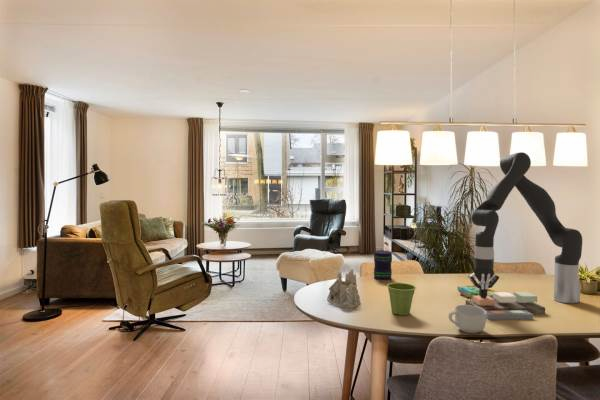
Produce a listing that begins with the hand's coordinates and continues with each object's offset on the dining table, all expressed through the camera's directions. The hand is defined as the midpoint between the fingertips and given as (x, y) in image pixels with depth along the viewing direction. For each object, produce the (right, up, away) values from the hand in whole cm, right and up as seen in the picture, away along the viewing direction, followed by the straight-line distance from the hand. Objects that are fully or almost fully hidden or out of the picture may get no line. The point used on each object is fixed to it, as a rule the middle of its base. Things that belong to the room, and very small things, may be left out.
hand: (483, 297), depth 177 cm
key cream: (+9, -1, 0) cm, 9 cm away
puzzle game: (+7, -5, +18) cm, 20 cm away
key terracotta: (0, -2, 0) cm, 2 cm away
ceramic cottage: (-58, -5, +12) cm, 60 cm away
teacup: (-17, -7, -24) cm, 31 cm away
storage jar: (-31, -3, +58) cm, 66 cm away
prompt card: (+6, -6, -10) cm, 12 cm away
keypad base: (+9, -5, 0) cm, 10 cm away
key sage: (+18, -1, +1) cm, 18 cm away
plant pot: (-36, -6, -4) cm, 36 cm away
